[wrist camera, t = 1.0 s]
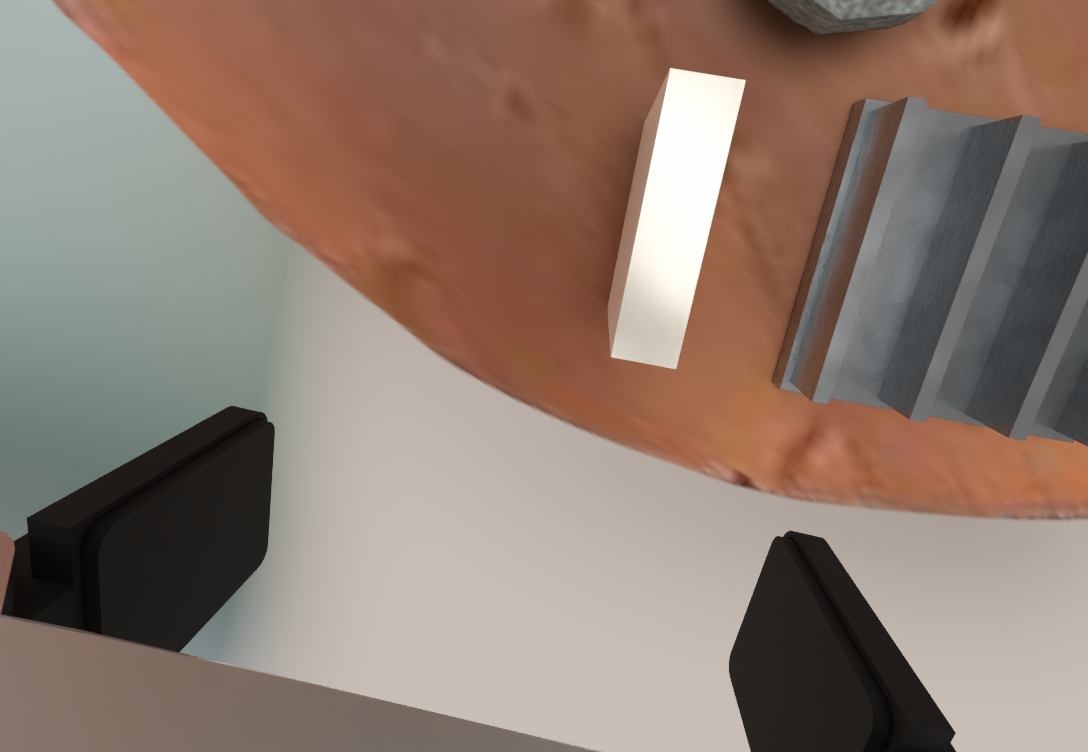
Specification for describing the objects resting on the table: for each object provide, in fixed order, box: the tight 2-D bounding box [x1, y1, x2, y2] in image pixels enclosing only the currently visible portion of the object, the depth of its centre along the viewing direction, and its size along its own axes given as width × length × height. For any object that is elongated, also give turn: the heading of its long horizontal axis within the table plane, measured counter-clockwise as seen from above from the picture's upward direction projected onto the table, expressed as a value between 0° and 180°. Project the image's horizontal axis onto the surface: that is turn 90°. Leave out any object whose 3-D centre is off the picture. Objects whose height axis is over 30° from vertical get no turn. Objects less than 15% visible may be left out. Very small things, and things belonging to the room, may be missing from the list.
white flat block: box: [607, 68, 746, 369], centre depth 26 cm, size 2×10×12 cm, turn 170°
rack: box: [772, 97, 1088, 446], centre depth 29 cm, size 16×15×5 cm
